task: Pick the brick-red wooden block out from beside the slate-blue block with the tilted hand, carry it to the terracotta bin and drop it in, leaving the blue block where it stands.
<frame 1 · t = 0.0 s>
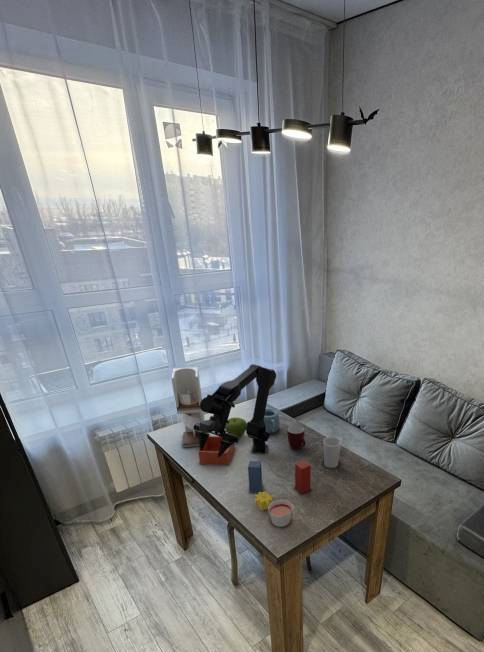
hand: (209, 453, 156), 15 cm above the table, tool tilted 35°, fingers open, 9 cm apart
red bin: (217, 456, 182), on the table
red block: (302, 489, 164), on the table
arched white lantern: (195, 440, 193), on the table
candle: (281, 521, 147), on the table
toy block: (265, 506, 154), on the table
mug: (297, 448, 190), on the table
blue block: (256, 489, 162), on the table
apple: (236, 436, 197), on the table
cup: (331, 464, 180), on the table
mug 2: (270, 431, 203), on the table
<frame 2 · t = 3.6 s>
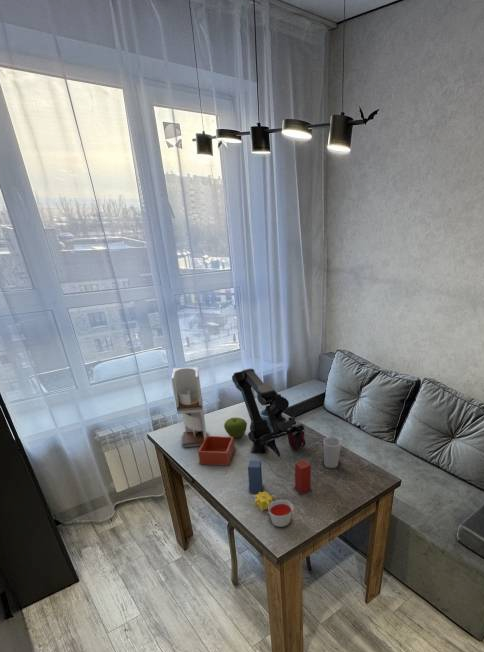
hand: (289, 453, 162), 14 cm above the table, tool tilted 45°, fingers open, 9 cm apart
nothing on the table moved.
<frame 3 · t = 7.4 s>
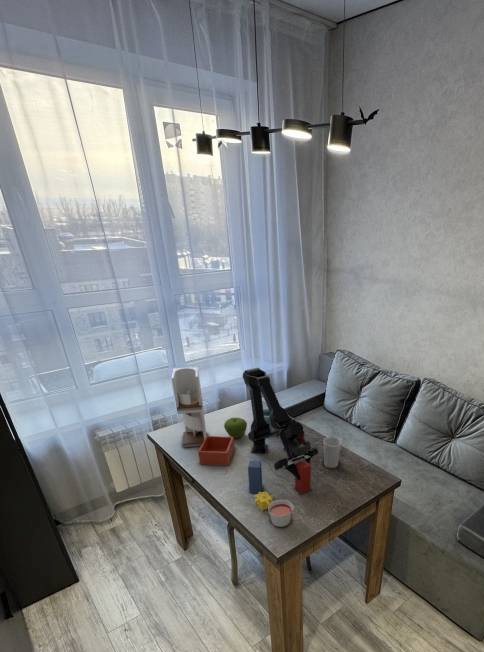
hand: (304, 478, 159), 7 cm above the table, tool tilted 45°, fingers closed on red block, 4 cm apart
red block: (302, 489, 164), on the table, touching gripper
everything else where it was.
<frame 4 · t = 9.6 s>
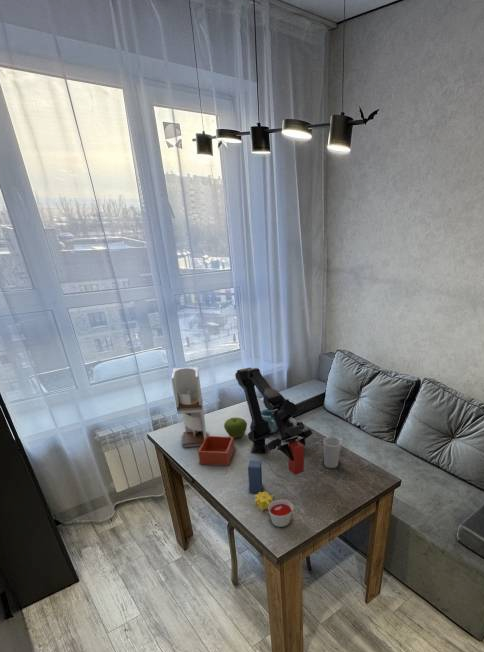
hand: (298, 458, 159), 13 cm above the table, tool tilted 45°, fingers closed on red block, 4 cm apart
red block: (296, 470, 163), point 7 cm above the table, touching gripper
everything else where it was.
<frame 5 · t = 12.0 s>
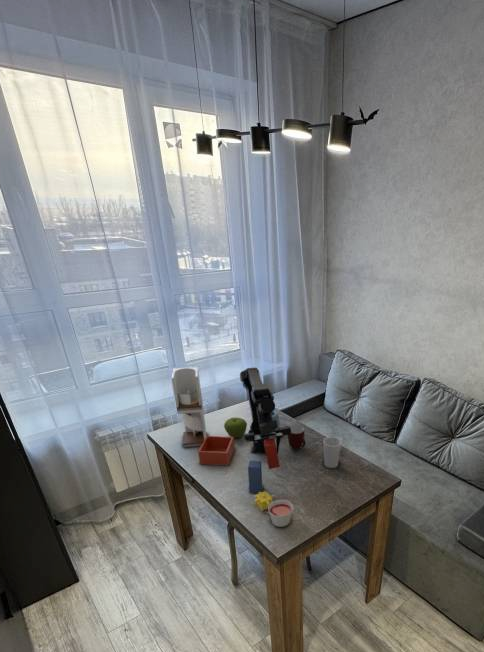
hand: (271, 455, 161), 13 cm above the table, tool tilted 40°, fingers closed on red block, 4 cm apart
red block: (273, 464, 166), point 7 cm above the table, tilted 10°, touching gripper
everything else where it was.
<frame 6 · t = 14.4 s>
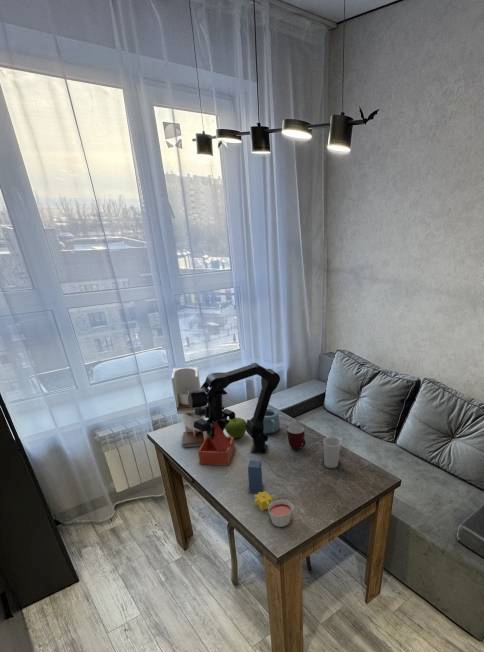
hand: (215, 437, 172), 13 cm above the table, tool pointing down, fingers closed on red block, 4 cm apart
red block: (225, 449, 171), point 9 cm above the table, tilted 43°, touching gripper
everything else where it was.
when the fingers open (10 cm above the table, at t = 16.6 s): red block drops 2 cm and tips over, resting on red bin.
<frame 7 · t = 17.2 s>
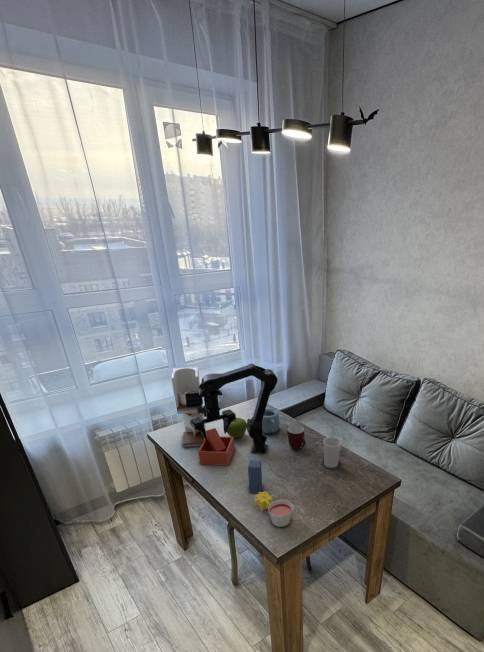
hand: (215, 436, 176), 11 cm above the table, tool pointing down, fingers open, 9 cm apart
red block: (221, 452, 176), point 5 cm above the table, tilted 68°, touching red bin
everything else where it was.
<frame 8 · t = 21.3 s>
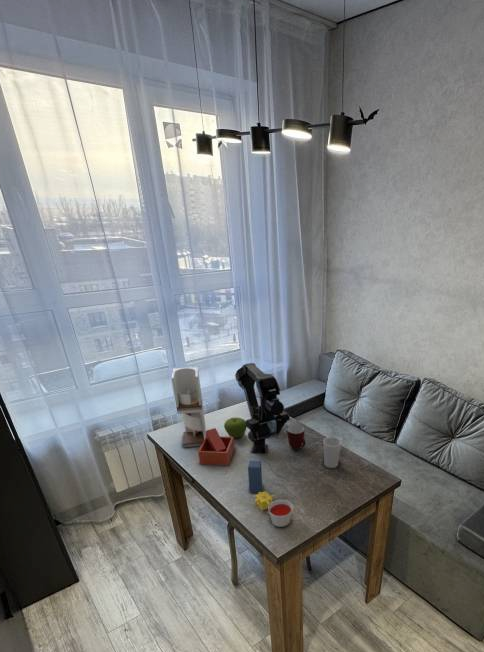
hand: (268, 437, 173), 13 cm above the table, tool pointing down, fingers open, 9 cm apart
nothing on the table moved.
at the end: red block inside the target area in the red bin (4.9 cm from its centre), point 4.5 cm above the red bin's base; the gripper is holding nothing; blue block moved 0.0 cm from its start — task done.
